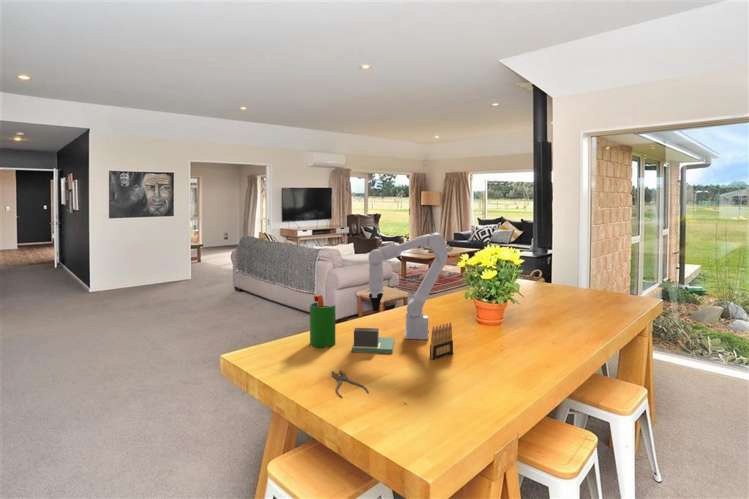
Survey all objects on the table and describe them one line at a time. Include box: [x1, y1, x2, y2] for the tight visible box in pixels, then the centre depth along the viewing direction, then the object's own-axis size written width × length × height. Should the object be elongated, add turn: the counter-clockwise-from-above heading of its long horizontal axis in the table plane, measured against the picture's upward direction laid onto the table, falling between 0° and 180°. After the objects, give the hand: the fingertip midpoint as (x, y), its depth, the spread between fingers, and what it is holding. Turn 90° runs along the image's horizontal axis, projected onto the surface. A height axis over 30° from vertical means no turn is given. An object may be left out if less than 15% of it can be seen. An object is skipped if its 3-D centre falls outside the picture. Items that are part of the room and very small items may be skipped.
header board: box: [351, 336, 395, 354], centre depth 177 cm, size 15×14×4 cm
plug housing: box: [353, 327, 380, 347], centre depth 174 cm, size 9×4×6 cm, turn 85°
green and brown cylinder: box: [309, 294, 336, 349], centre depth 179 cm, size 10×9×20 cm
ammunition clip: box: [429, 321, 454, 361], centre depth 166 cm, size 11×2×12 cm, turn 129°
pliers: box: [331, 369, 370, 399], centre depth 143 cm, size 10×1×20 cm
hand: (376, 311), depth 190 cm, fingers closed
